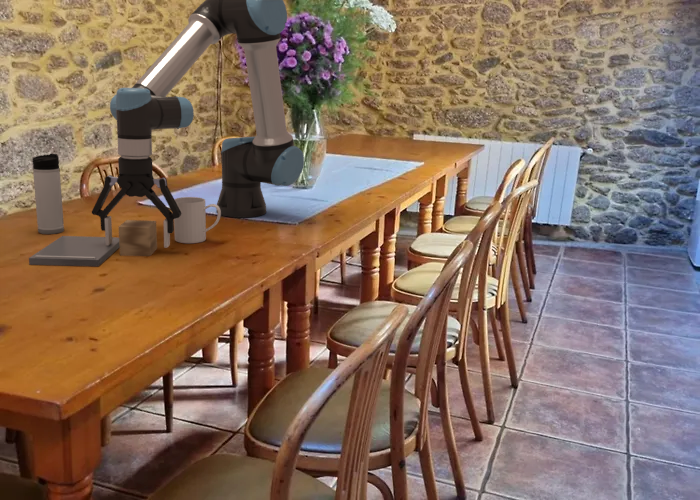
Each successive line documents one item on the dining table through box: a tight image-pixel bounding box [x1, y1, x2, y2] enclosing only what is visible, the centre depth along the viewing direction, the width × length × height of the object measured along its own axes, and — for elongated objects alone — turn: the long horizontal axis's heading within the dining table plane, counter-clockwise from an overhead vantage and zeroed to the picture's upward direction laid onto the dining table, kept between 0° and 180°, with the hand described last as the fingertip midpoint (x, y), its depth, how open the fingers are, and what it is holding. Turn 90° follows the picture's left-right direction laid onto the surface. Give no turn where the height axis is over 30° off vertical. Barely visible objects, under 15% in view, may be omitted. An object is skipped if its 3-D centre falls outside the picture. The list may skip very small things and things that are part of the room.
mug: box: [173, 196, 222, 244], centre depth 175 cm, size 12×8×10 cm, turn 79°
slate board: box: [28, 235, 120, 267], centre depth 160 cm, size 15×20×2 cm
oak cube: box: [118, 219, 158, 257], centre depth 163 cm, size 7×7×7 cm
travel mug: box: [31, 153, 65, 235], centre depth 177 cm, size 6×7×20 cm
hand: (138, 245), depth 164 cm, fingers open, 13 cm apart
